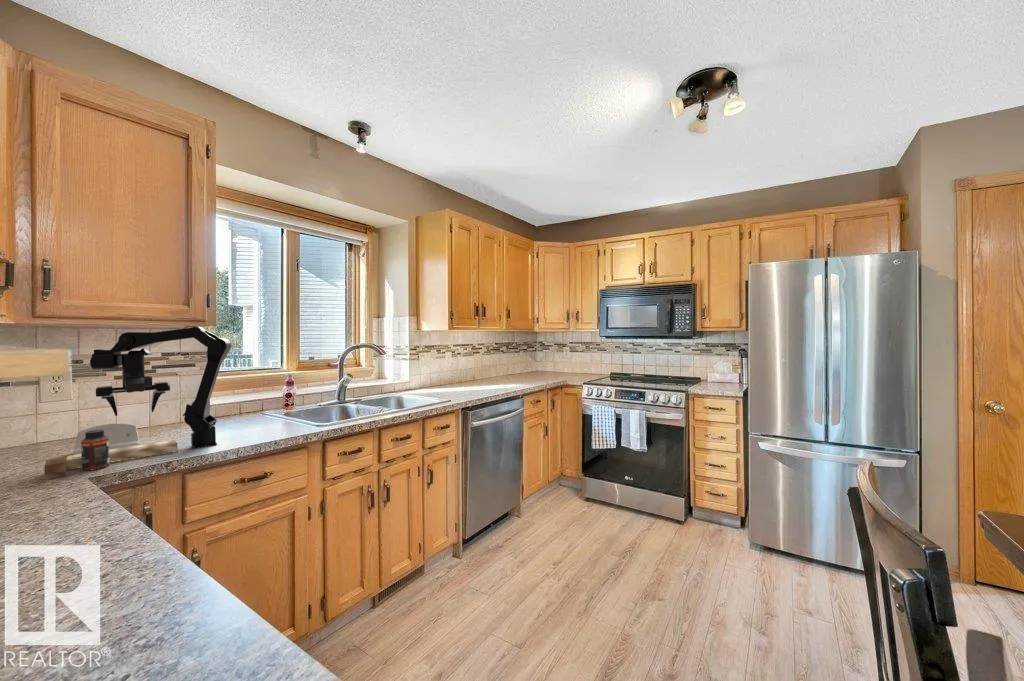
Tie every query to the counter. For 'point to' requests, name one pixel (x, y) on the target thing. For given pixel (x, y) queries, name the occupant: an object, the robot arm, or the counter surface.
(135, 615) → the counter surface
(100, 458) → the supplement bottle
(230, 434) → the counter surface
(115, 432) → the grey curved bracket
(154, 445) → the maple board
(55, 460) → the walnut block
